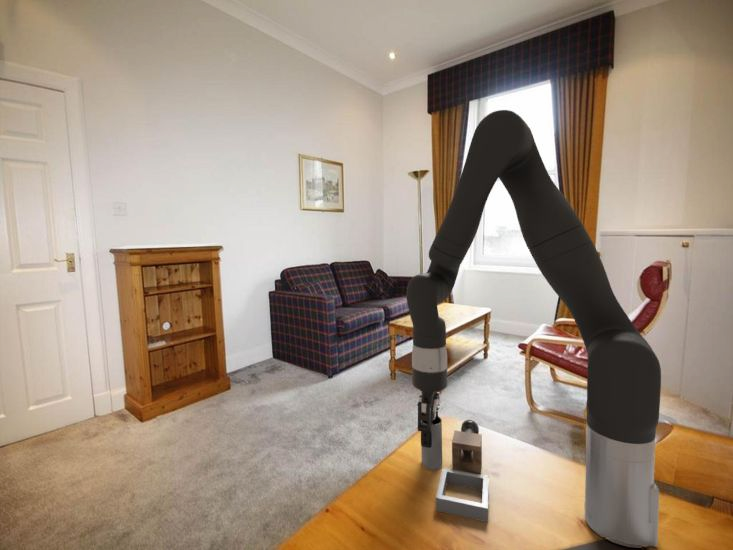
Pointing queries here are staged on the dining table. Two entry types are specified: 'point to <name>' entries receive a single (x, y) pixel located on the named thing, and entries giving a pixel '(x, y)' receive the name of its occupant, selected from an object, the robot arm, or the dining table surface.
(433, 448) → the grey cylinder
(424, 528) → the dining table surface
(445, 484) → the grey open frame
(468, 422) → the shaft
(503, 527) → the dining table surface
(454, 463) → the guide block
